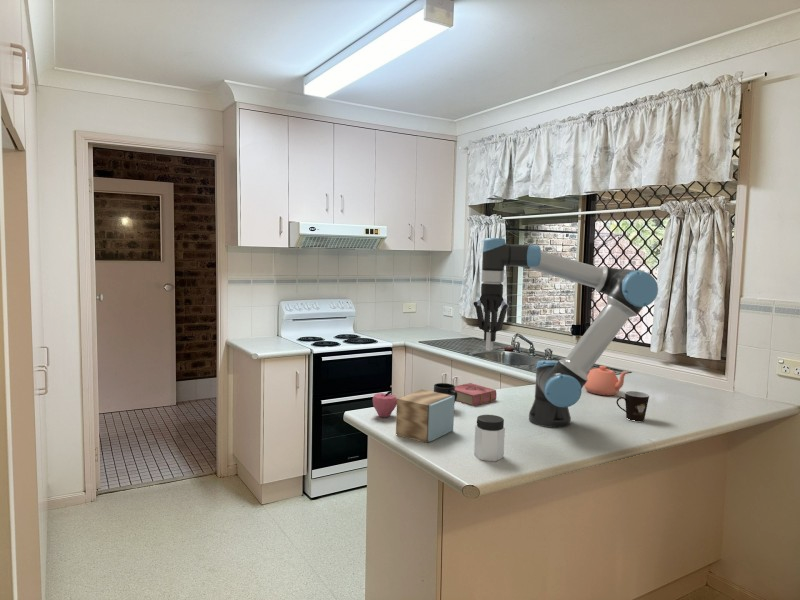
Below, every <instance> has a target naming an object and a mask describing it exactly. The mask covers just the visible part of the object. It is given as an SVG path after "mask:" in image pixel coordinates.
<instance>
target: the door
mask: <svg viewBox="0 0 800 600" xmlns="http://www.w3.org/2000/svg"><path fill="white" fill-rule="evenodd" d="M454 401H455V395H452V396H450V397H448V398H445V399H443V400H440V401H438V402H435V403H433V404H430V405H429V416H428V442H432V441H434V440H436V439H438V438H440V437H443V436H444V435H446V434H448V433H450V432H452V431H453V432H454V421H455V420H454V419H455V417H454V416H455V403H454ZM455 402H456V401H455Z"/></svg>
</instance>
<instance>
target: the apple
mask: <svg viewBox="0 0 800 600" xmlns="http://www.w3.org/2000/svg"><path fill="white" fill-rule="evenodd" d="M397 399H398V398H397V397H396V395H394V394H392V391H391V390H389V391H387V393H384V392H383V393H382V392H379V393H375V394H374V395H373V397H372V405H373V408H374V409H375V412H376V413H377V415H378V416H379V417H380V418H389V417H391V416H392V413H393V412H394V410H395V408H397Z"/></svg>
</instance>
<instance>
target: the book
mask: <svg viewBox="0 0 800 600" xmlns="http://www.w3.org/2000/svg"><path fill="white" fill-rule="evenodd" d="M454 386H455V391H456V392H457V399H456V401H455V402H458V403H460V402H461V404H464V405H466V406H467V405H468V406H471V407H477V406H481V405H484V404H487V403H488V404H489V403H492V402H496V401H497V389H494V388H491V387H486V386H482V385H479V384H475V383H472V382H469V383H464V384H459V385H454Z"/></svg>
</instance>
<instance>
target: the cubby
mask: <svg viewBox="0 0 800 600" xmlns="http://www.w3.org/2000/svg"><path fill="white" fill-rule="evenodd" d="M450 396H451V395H447V394H442V393H437V392H434V391H433V390H426V389H420V390H417V391H414V392H412V393H408V394H406V395H403V396H401V397H398V398H397V405H396V420H395V422H396V423H395V435H396V434H397V435H396V436H398V435H400V436H399V437H402V436H404V438H406V437H407V439H410V438H411V440H414V441H419V442H422V443H426V444H427V443H428V442H429V441H428V416H429V405H430V404H433V403H435V402H438V401H440V400H443V399H445V398H448V397H450Z"/></svg>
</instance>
